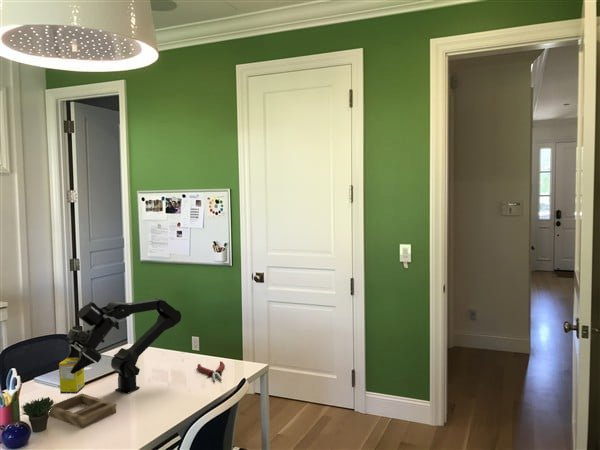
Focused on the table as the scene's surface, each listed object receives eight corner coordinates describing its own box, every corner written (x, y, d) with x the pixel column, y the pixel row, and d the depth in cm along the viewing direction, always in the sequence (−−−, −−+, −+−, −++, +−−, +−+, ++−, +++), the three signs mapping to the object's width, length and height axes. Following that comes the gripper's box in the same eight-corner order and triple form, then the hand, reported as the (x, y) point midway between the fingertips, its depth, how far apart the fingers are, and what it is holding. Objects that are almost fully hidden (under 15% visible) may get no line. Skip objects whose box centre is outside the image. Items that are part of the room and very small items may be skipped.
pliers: (203, 385, 189) (203, 379, 189) (196, 368, 208) (196, 363, 208) (232, 382, 193) (232, 375, 193) (223, 365, 212) (222, 360, 212)
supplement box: (84, 387, 172) (83, 357, 171) (76, 394, 166) (75, 363, 165) (68, 386, 172) (67, 357, 172) (59, 394, 166) (58, 363, 166)
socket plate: (116, 412, 164) (115, 404, 164) (82, 428, 153) (81, 419, 153) (82, 401, 173) (82, 393, 173) (47, 415, 162) (47, 406, 162)
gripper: (73, 315, 177) (41, 351, 171) (90, 325, 163) (56, 364, 157) (96, 332, 183) (66, 367, 176) (114, 343, 169) (83, 381, 162)
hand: (67, 369), depth 168 cm, fingers closed on supplement box, 8 cm apart
